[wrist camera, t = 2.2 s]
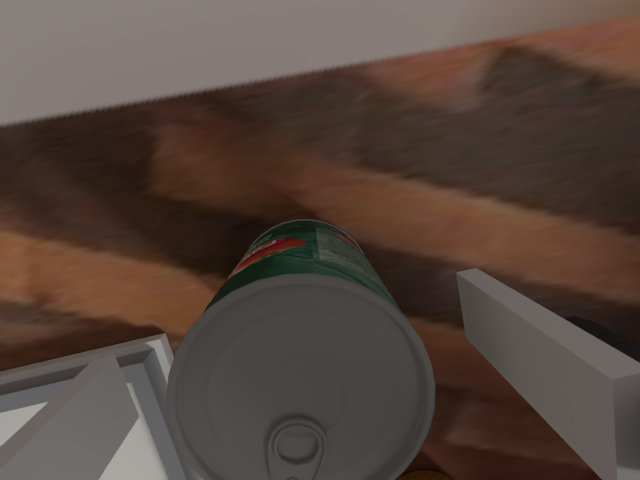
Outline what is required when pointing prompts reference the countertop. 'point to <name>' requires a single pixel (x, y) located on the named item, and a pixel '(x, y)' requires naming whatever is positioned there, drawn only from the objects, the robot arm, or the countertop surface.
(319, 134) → the countertop surface
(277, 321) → the canned tomato
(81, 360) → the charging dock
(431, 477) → the disposable coffee cup
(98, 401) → the robot arm
